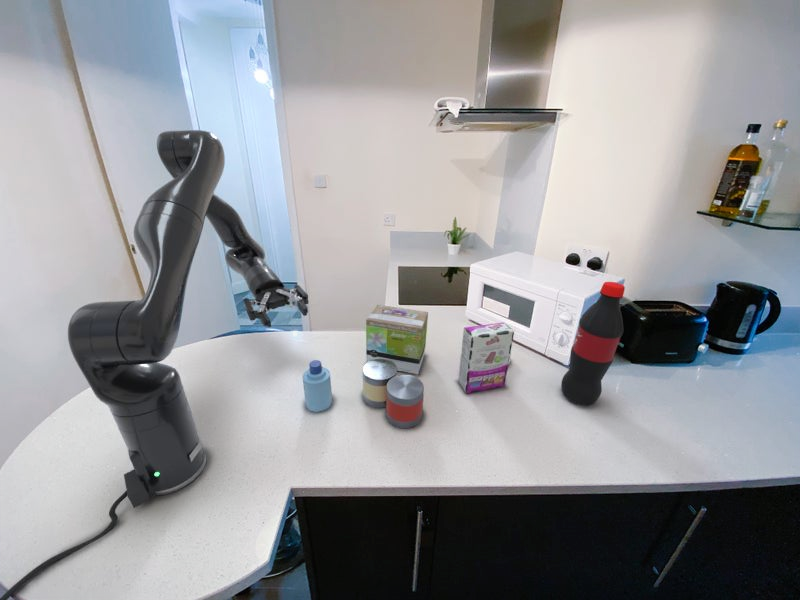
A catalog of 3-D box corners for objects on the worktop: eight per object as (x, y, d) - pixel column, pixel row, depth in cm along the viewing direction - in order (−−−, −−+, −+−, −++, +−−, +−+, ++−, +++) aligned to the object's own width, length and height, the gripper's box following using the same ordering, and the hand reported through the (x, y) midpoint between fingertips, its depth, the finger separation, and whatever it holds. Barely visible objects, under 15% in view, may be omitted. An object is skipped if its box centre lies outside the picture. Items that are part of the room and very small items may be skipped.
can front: (403, 434, 66) (405, 405, 62) (378, 413, 71) (378, 385, 68) (429, 415, 71) (431, 387, 68) (404, 397, 76) (405, 369, 73)
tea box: (365, 366, 87) (364, 319, 81) (376, 347, 96) (376, 303, 90) (419, 375, 84) (422, 327, 78) (425, 355, 93) (428, 310, 87)
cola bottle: (592, 389, 81) (630, 279, 68) (601, 412, 73) (646, 293, 61) (556, 382, 83) (587, 274, 70) (562, 404, 75) (597, 288, 63)
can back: (378, 413, 71) (378, 384, 68) (356, 395, 76) (355, 367, 73) (403, 396, 76) (404, 369, 73) (381, 380, 81) (381, 354, 78)
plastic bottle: (314, 416, 70) (309, 375, 65) (301, 401, 74) (295, 363, 69) (337, 403, 74) (334, 364, 69) (323, 390, 78) (320, 352, 73)
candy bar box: (494, 375, 85) (504, 321, 78) (504, 387, 80) (516, 331, 74) (456, 381, 82) (463, 326, 75) (464, 394, 78) (473, 336, 71)
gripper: (232, 278, 77) (253, 315, 67) (289, 265, 85) (316, 296, 75) (238, 302, 81) (258, 340, 71) (292, 288, 89) (317, 321, 79)
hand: (288, 318), depth 73 cm, fingers open, 8 cm apart
